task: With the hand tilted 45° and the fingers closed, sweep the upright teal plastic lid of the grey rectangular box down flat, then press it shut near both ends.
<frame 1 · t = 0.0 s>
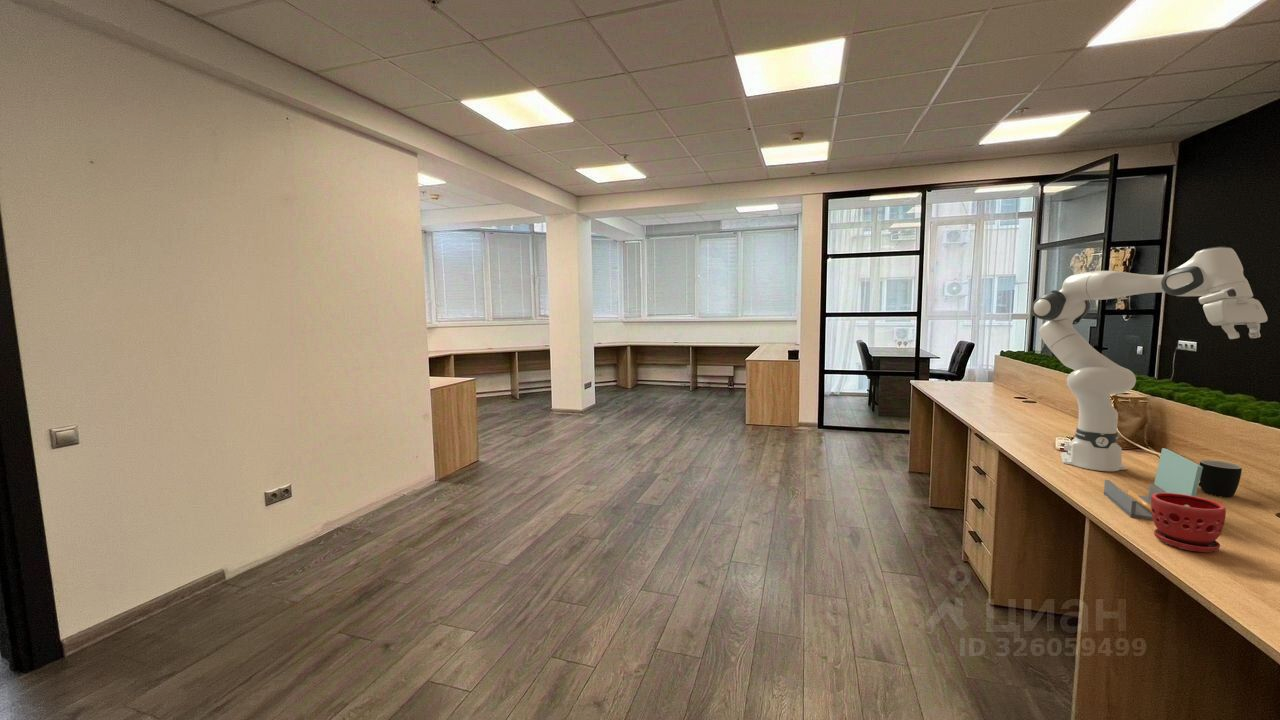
hand: (1245, 338, 152), 52 cm above the table, tool tilted 20°, fingers open, 8 cm apart
mug: (1210, 493, 165), on the table
grey rectangular box: (1141, 508, 153), on the table
lid: (1177, 476, 149), point 11 cm above the table, hinge at 95.0°
plant pot: (1183, 544, 130), on the table
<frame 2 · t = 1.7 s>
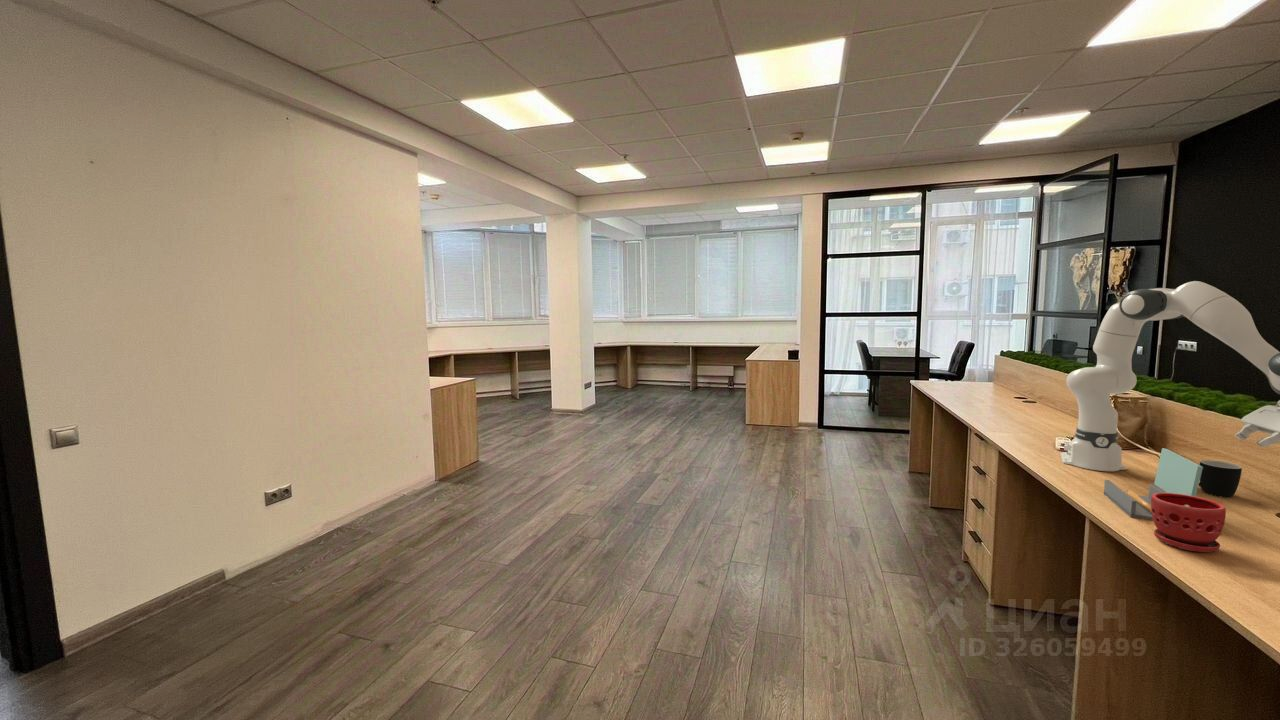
hand: (1248, 441, 141), 23 cm above the table, tool tilted 45°, fingers open, 8 cm apart
nothing on the table moved.
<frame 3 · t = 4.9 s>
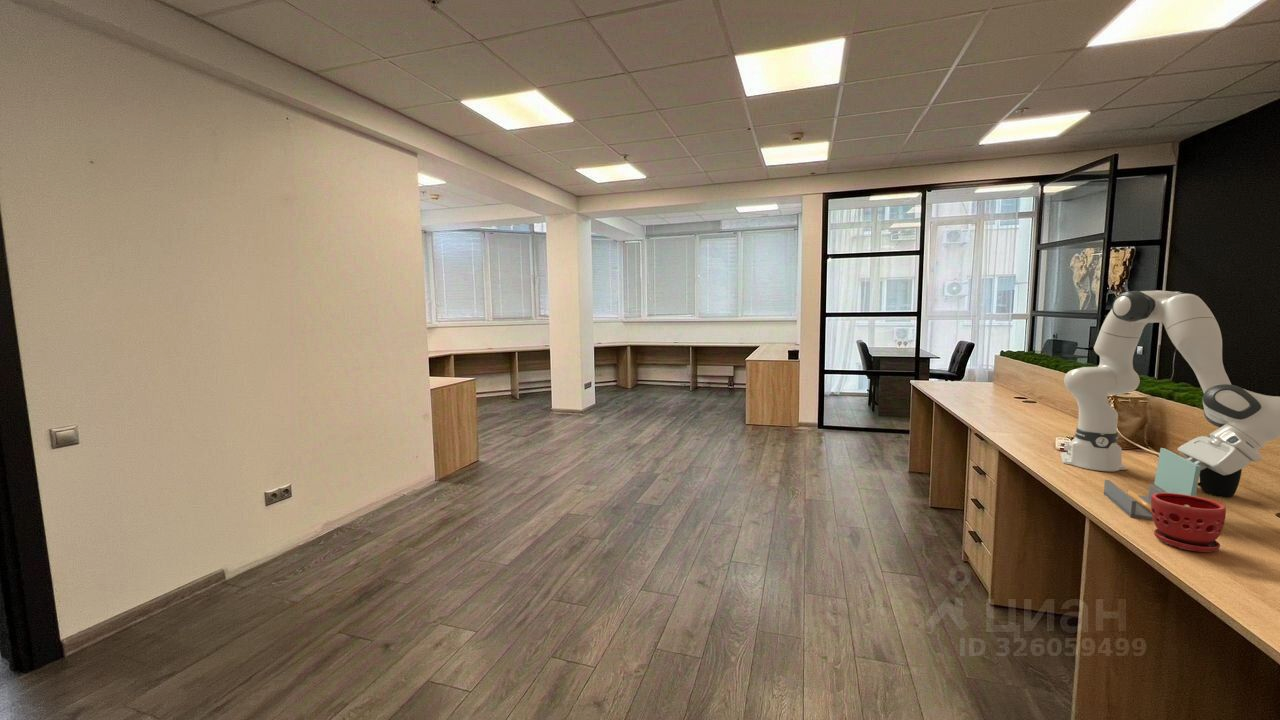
hand: (1182, 471, 148), 13 cm above the table, tool tilted 45°, fingers closed, pressing on lid
lid: (1176, 476, 149), point 11 cm above the table, hinge at 93.3°, touching gripper
everything else where it was.
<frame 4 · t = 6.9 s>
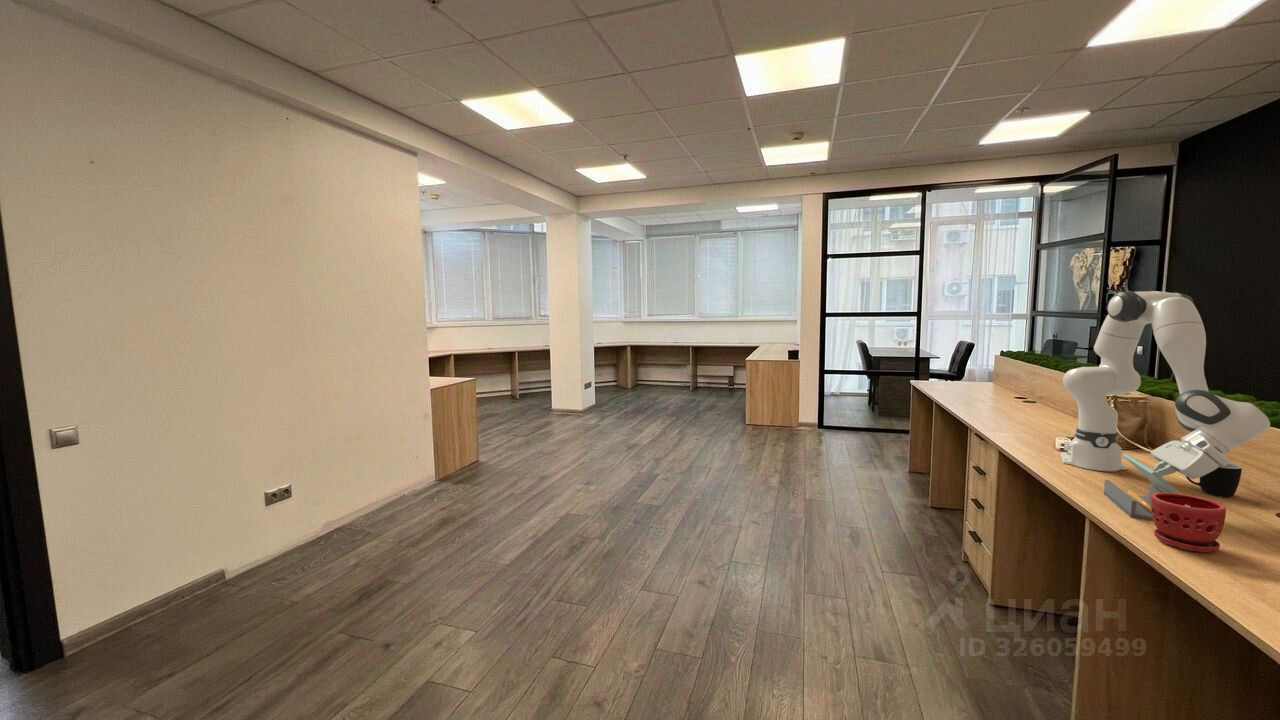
hand: (1153, 474, 151), 11 cm above the table, tool tilted 45°, fingers closed, pressing on lid
lid: (1154, 477, 151), point 10 cm above the table, hinge at 45.4°, touching gripper
everything else where it was.
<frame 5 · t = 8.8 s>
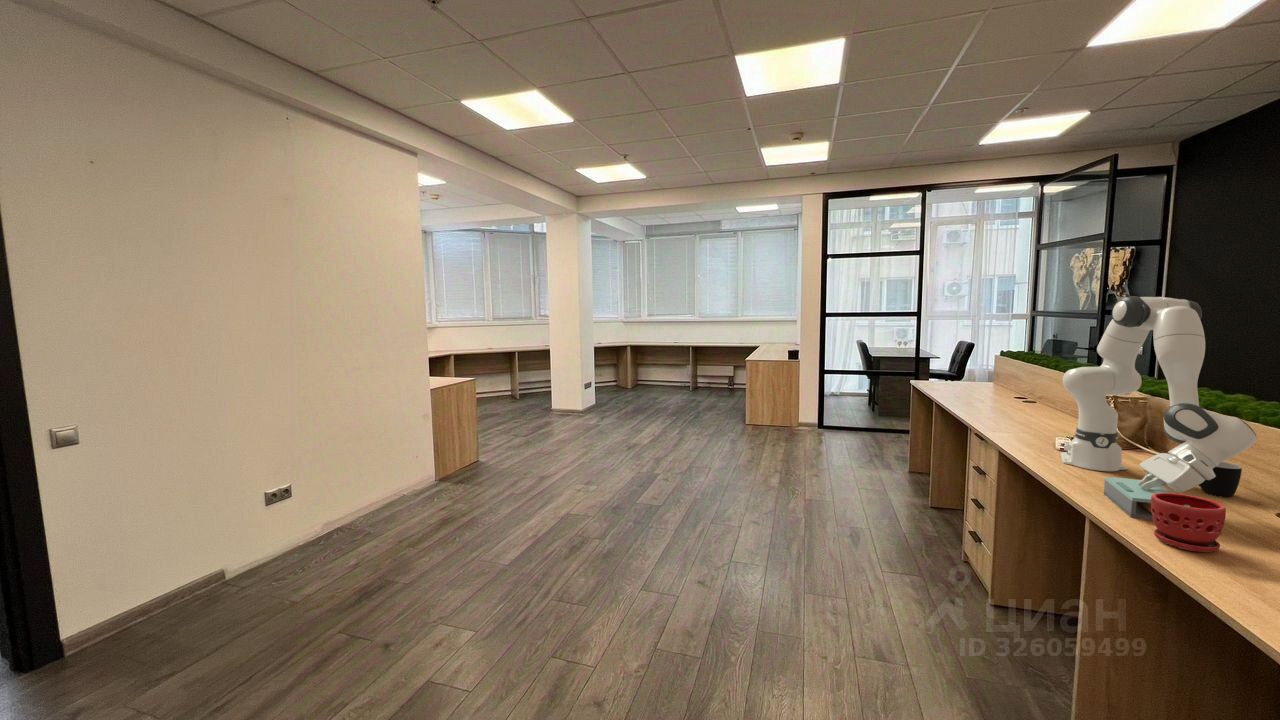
hand: (1141, 487, 152), 7 cm above the table, tool tilted 45°, fingers closed, pressing on lid
lid: (1143, 490, 152), point 6 cm above the table, hinge at -1.4°, touching grey rectangular box, gripper
everything else where it was.
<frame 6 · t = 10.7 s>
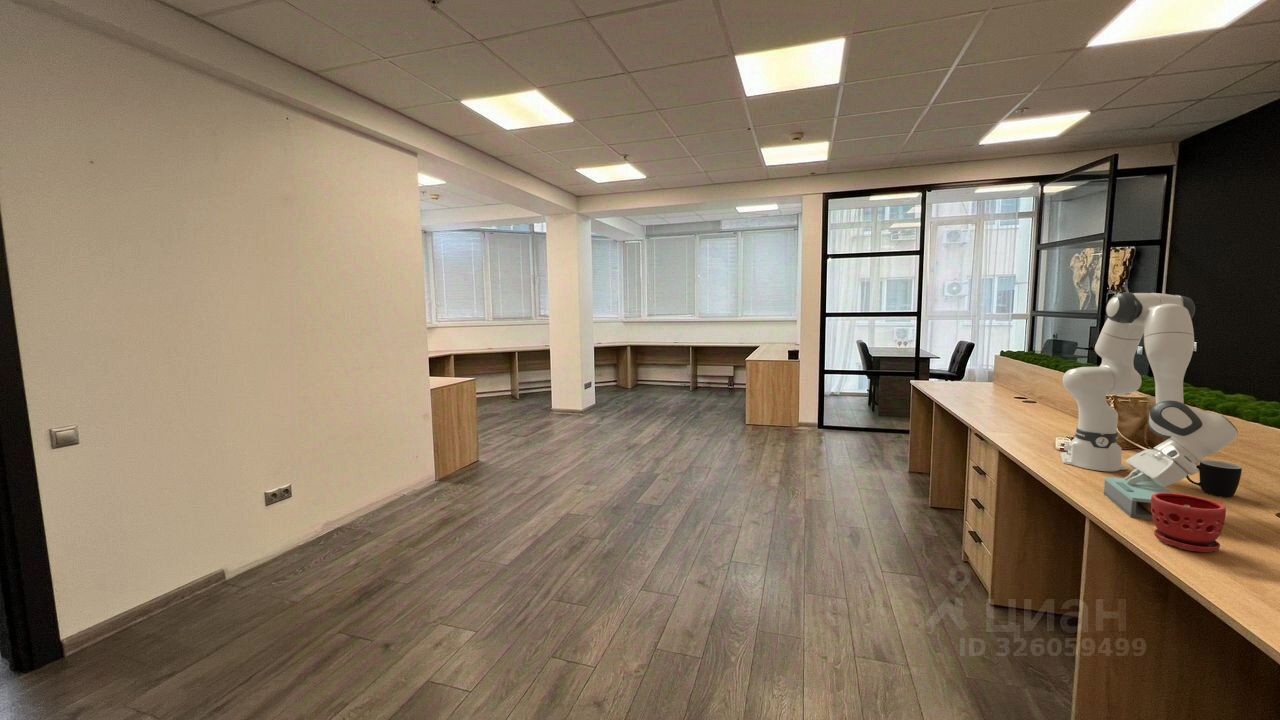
hand: (1127, 482, 157), 7 cm above the table, tool tilted 45°, fingers closed, pressing on lid
lid: (1143, 490, 152), point 6 cm above the table, hinge at -1.4°, touching grey rectangular box, gripper
everything else where it was.
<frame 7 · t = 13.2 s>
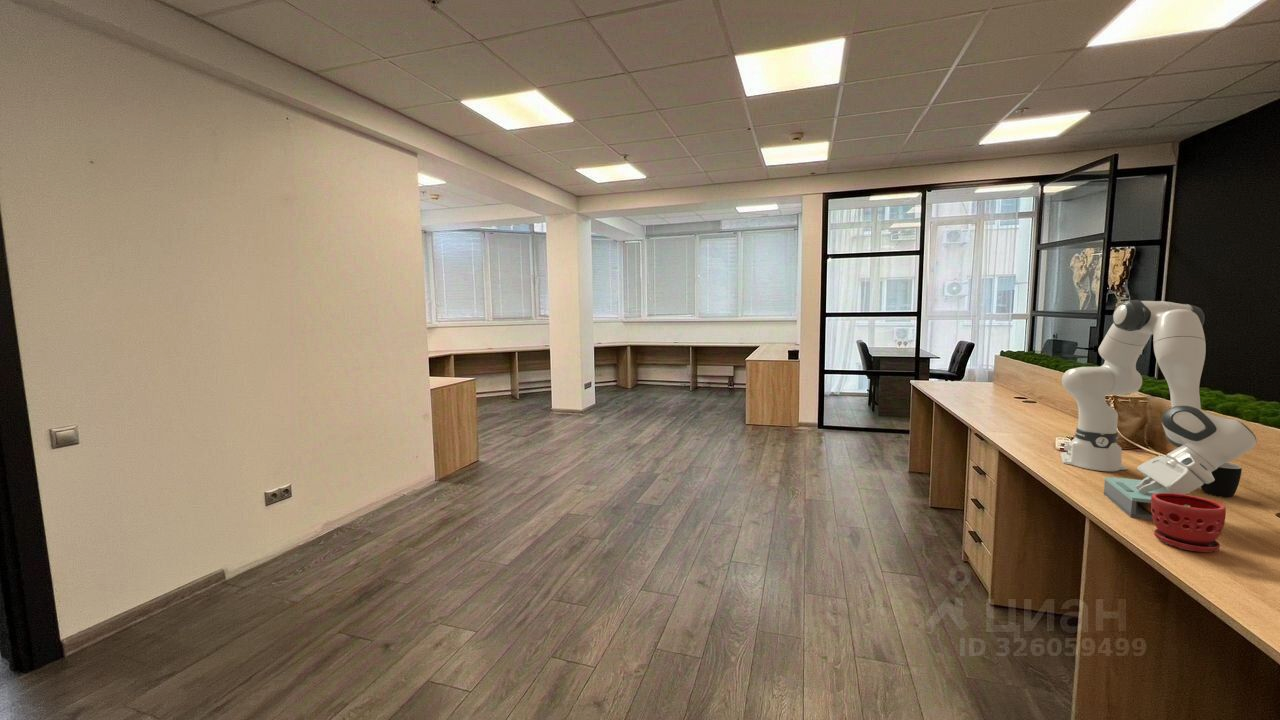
hand: (1139, 490, 150), 7 cm above the table, tool tilted 45°, fingers closed, pressing on lid
lid: (1143, 490, 152), point 6 cm above the table, hinge at -1.5°, touching grey rectangular box, gripper
everything else where it was.
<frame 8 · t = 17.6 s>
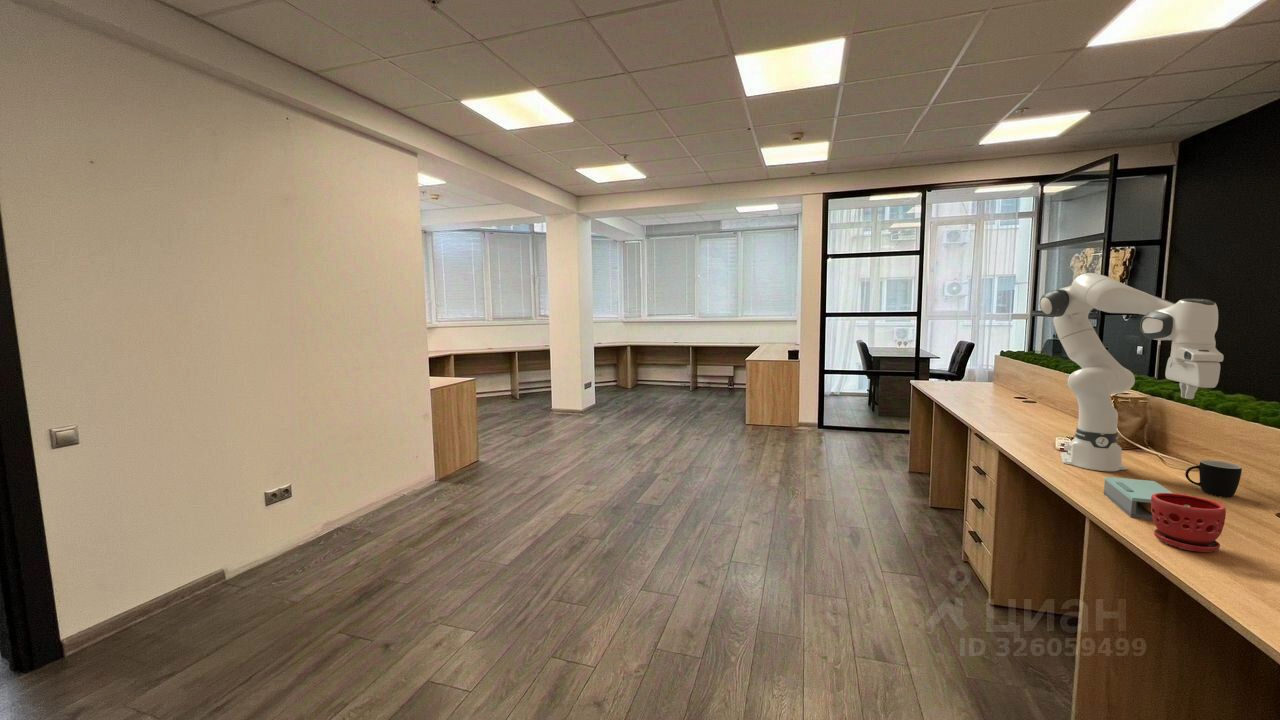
hand: (1187, 398, 150), 34 cm above the table, tool pointing down, fingers closed
lid: (1143, 490, 152), point 6 cm above the table, hinge at -1.4°
everything else where it was.
at the end: lid at -1° (first picture: +95°) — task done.
